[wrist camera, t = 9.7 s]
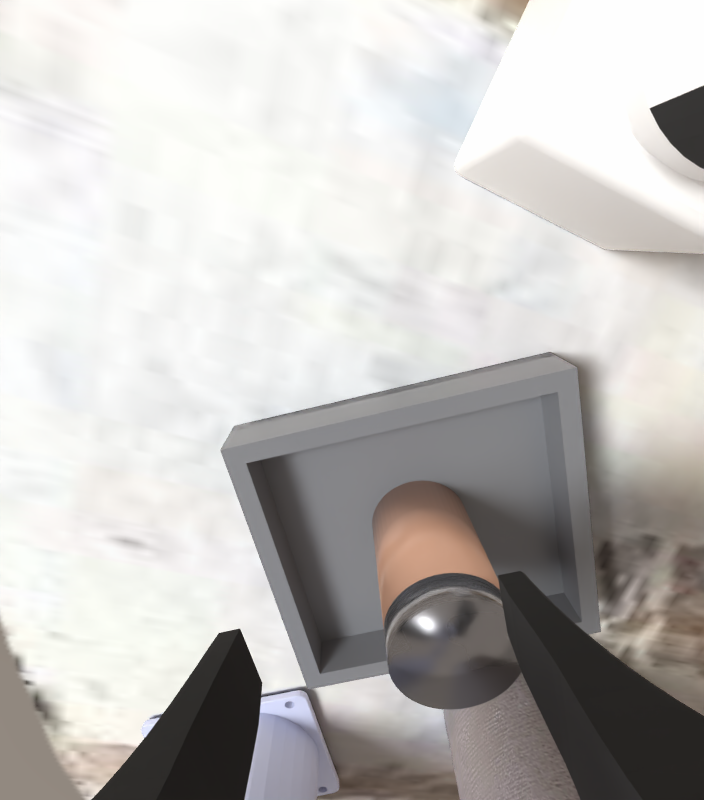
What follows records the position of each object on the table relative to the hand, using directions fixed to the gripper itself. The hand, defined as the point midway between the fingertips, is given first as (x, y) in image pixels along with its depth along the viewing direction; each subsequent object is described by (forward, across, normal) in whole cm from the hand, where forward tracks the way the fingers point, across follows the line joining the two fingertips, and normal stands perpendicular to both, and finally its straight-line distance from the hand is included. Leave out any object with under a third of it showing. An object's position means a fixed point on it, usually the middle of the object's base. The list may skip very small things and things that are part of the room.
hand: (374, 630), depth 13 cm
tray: (+9, -2, +3) cm, 10 cm away
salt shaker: (+9, -2, +3) cm, 10 cm away
